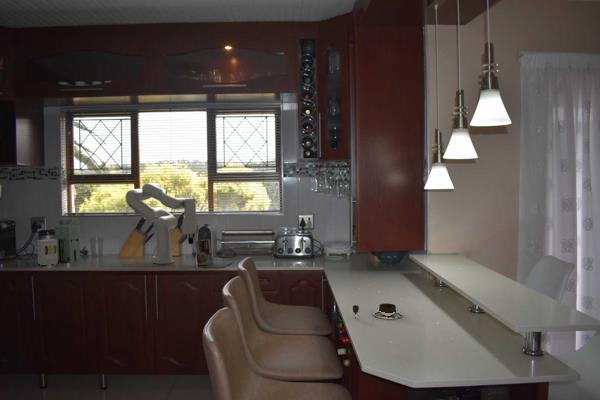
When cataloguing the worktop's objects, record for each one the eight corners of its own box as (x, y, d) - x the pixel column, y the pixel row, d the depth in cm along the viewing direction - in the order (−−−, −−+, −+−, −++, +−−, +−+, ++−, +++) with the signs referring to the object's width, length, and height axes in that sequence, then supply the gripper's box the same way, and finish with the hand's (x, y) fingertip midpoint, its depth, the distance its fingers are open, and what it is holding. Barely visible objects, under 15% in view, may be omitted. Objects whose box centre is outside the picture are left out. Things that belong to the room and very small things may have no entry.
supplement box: (43, 266, 317) (42, 241, 316) (37, 264, 323) (36, 239, 322) (58, 264, 325) (57, 239, 324) (51, 262, 330) (50, 238, 329)
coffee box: (213, 262, 320) (211, 239, 319) (210, 264, 313) (208, 240, 313) (200, 263, 321) (198, 239, 320) (197, 265, 314) (194, 241, 314)
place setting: (401, 324, 191) (401, 309, 191) (351, 321, 196) (351, 307, 195) (402, 311, 208) (402, 298, 208) (356, 309, 213) (356, 296, 212)
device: (55, 260, 337) (53, 218, 335) (65, 259, 344) (64, 217, 342) (70, 262, 329) (68, 219, 327) (80, 260, 335) (78, 218, 334)
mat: (203, 267, 308) (203, 266, 307) (215, 262, 324) (215, 261, 324) (221, 268, 304) (221, 267, 304) (232, 263, 321) (232, 262, 321)
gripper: (177, 216, 316) (178, 244, 317) (197, 217, 312) (198, 244, 313) (182, 215, 324) (183, 242, 325) (202, 216, 320) (203, 243, 321)
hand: (190, 243), depth 319 cm, fingers closed
